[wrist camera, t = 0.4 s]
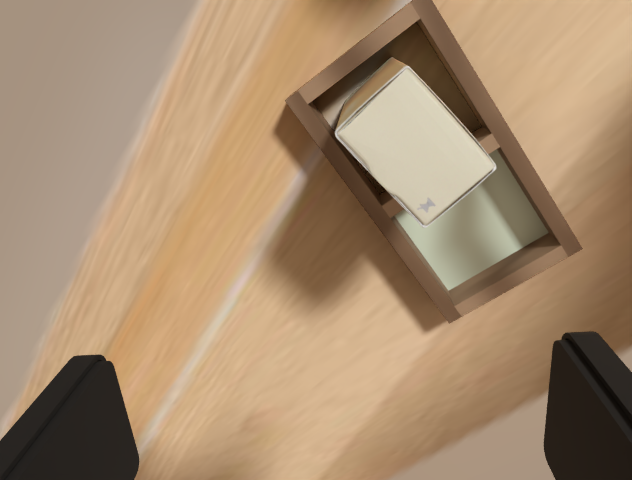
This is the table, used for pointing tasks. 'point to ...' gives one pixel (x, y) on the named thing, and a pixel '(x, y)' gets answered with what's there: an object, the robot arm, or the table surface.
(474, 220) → the divided wooden tray
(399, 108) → the skincare box
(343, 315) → the table surface
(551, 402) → the robot arm
